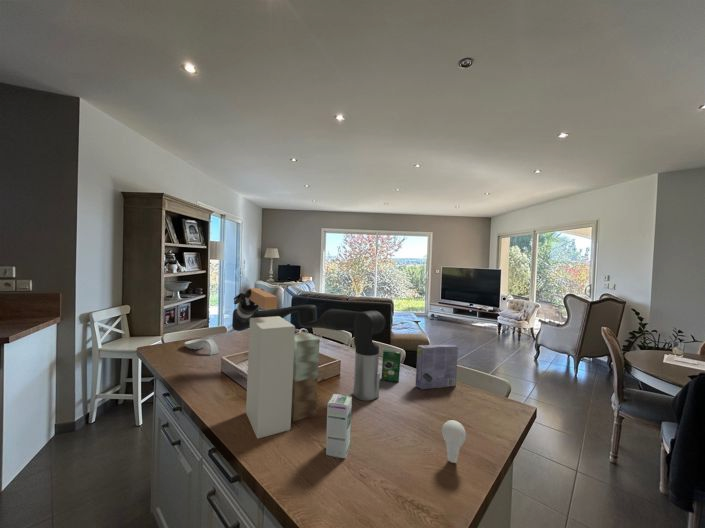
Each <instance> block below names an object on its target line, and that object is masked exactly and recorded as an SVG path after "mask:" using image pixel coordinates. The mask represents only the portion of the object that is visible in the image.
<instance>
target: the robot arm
mask: <svg viewBox="0 0 705 528" xmlns="http://www.w3.org/2000/svg"><path fill="white" fill-rule="evenodd" d="M260 289H261V290H264V288H260ZM250 295H251V289H249V290H248V289H247V290H246V292H244V293H243V292H241V293H239V294H237V295H236V296H234V297H233V304H234V305H237V304H238V305H237V307H236V308H235V309H234V310H233V312H232V322H231V323H232V324H231V326H232V329H233V330H234V331H237V332H241V331H245V330H248V329H250V318H260V317H276V316H280V317H281V318H283V319H284V318H286V317H287V316H289V315H291V314H294V313H297V317H298V320H297V322H298V325H299V326H300V327H302V328H308V329H309V328H310V329H311V328H312V329H314V328H315V329H316V328H317V329H324V330H330V331H353V343H354V348H355V353H354V354H355V356H354V358H355V359H354V373H353V375H354V376H353V397H354V398H355V399H357V400H359V401H360V400H361V401H366V402H367V401H373V400H375V399H378V398H379V397H380V378H381V377H380V375H381V374H380V372H379V359H380V358H379V357H380V346H379V344H378V343H375V342H373V335H376V334H378V333H380V332H382V331H383V330H384V328H385V326H386V318H385V316H384V315H383V314H382V313H381V312H379V311H377V310H366V311H353V310H347V309H339V308H337V309H336V308H330V309H327V310H326V311H325V312H323V313H322V314H321V315H320V317H319V318H318V311H317V309H318V307H317V306H316V305H315V304H300V305H295V306H288V307H283V308H282V307H281V308H277V309H266V310H265V309H263V310H258V307H260V306H259V305H257V304H256V303H254V302H253V301H251V300H250V299H249V297H250Z"/></svg>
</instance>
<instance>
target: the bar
mask: <svg viewBox="0 0 705 528" xmlns="http://www.w3.org/2000/svg"><path fill="white" fill-rule="evenodd" d="M249 289H251V295H250V297H249V299H250V300H251V301H253V302H254V303H256V304H257V305H259V306H258V307H260V308H262V309H263V310H275V309H278V296H277V295H274V294H272V293H270V292H268V291H265V289H263V290H261V289H262V288H259V287H248V288H247V290H249Z"/></svg>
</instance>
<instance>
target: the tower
mask: <svg viewBox="0 0 705 528" xmlns="http://www.w3.org/2000/svg"><path fill="white" fill-rule="evenodd" d="M320 343H321V341H320V338H318V337H317V336H316V335H314V334H312V333H297V334H295V339H294V361H293V384H292V406H291V421H293V422H295V421H301V420H305V419H308V418H311V417H314V416H317V405H318V402H317V401H318V387H319V385H318V383H319V382H318V381H319V362H320V361H319V359H320Z"/></svg>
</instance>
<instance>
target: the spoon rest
mask: <svg viewBox="0 0 705 528" xmlns="http://www.w3.org/2000/svg"><path fill="white" fill-rule="evenodd" d="M207 345H208V346H209V356H213V354H214V355H217V353H218V354H219V348H218V345H217V344H216V342H215V341H214V340H213V339H212V338H210V337H209V338H197V339H192V340H188V341H185V342H184V346H185V347H186V348H188V349H190V350H192V349H194V350H195V351H196V349H197V350H201V348H202V349H203V348H205V346H207ZM194 350H193V351H194Z"/></svg>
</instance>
